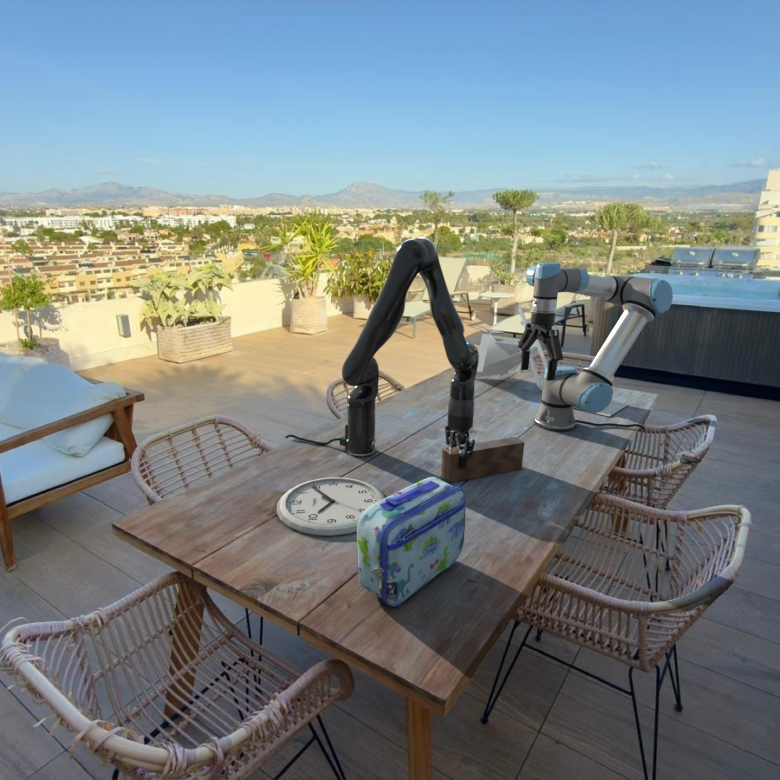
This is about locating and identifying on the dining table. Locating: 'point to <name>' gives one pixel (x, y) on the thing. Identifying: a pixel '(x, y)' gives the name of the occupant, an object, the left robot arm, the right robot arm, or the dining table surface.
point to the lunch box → (410, 539)
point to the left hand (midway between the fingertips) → (457, 463)
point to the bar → (483, 459)
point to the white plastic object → (505, 355)
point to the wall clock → (327, 505)
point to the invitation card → (611, 408)
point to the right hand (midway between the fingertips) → (536, 374)
